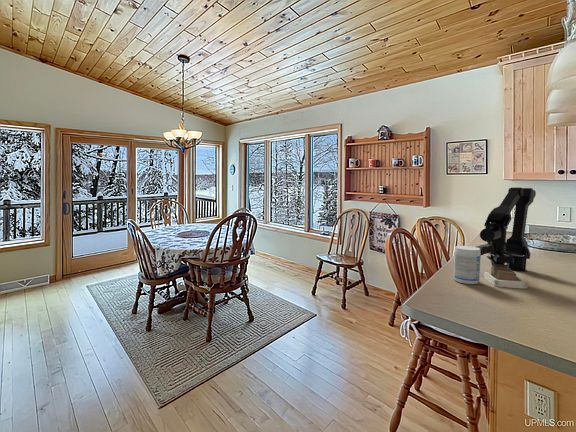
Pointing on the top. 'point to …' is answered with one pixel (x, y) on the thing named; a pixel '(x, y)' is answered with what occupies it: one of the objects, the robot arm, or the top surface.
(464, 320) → the top surface
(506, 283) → the bay
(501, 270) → the block
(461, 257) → the supplement tub
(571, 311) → the top surface
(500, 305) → the top surface
